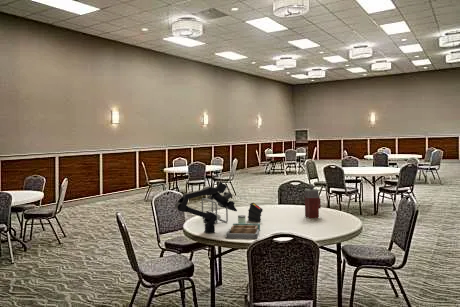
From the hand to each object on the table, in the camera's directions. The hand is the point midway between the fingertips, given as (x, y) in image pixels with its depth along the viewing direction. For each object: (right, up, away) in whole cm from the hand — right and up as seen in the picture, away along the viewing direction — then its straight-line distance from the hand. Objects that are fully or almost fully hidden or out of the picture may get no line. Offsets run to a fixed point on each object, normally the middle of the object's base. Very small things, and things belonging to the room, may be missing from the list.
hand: (233, 210), depth 300 cm
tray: (+8, -14, -12) cm, 20 cm away
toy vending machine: (+68, -11, +37) cm, 78 cm away
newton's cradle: (-16, -14, +33) cm, 39 cm away
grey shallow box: (+6, -15, -22) cm, 28 cm away
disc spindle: (+6, -14, +4) cm, 16 cm away
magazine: (+18, -13, +25) cm, 33 cm away
